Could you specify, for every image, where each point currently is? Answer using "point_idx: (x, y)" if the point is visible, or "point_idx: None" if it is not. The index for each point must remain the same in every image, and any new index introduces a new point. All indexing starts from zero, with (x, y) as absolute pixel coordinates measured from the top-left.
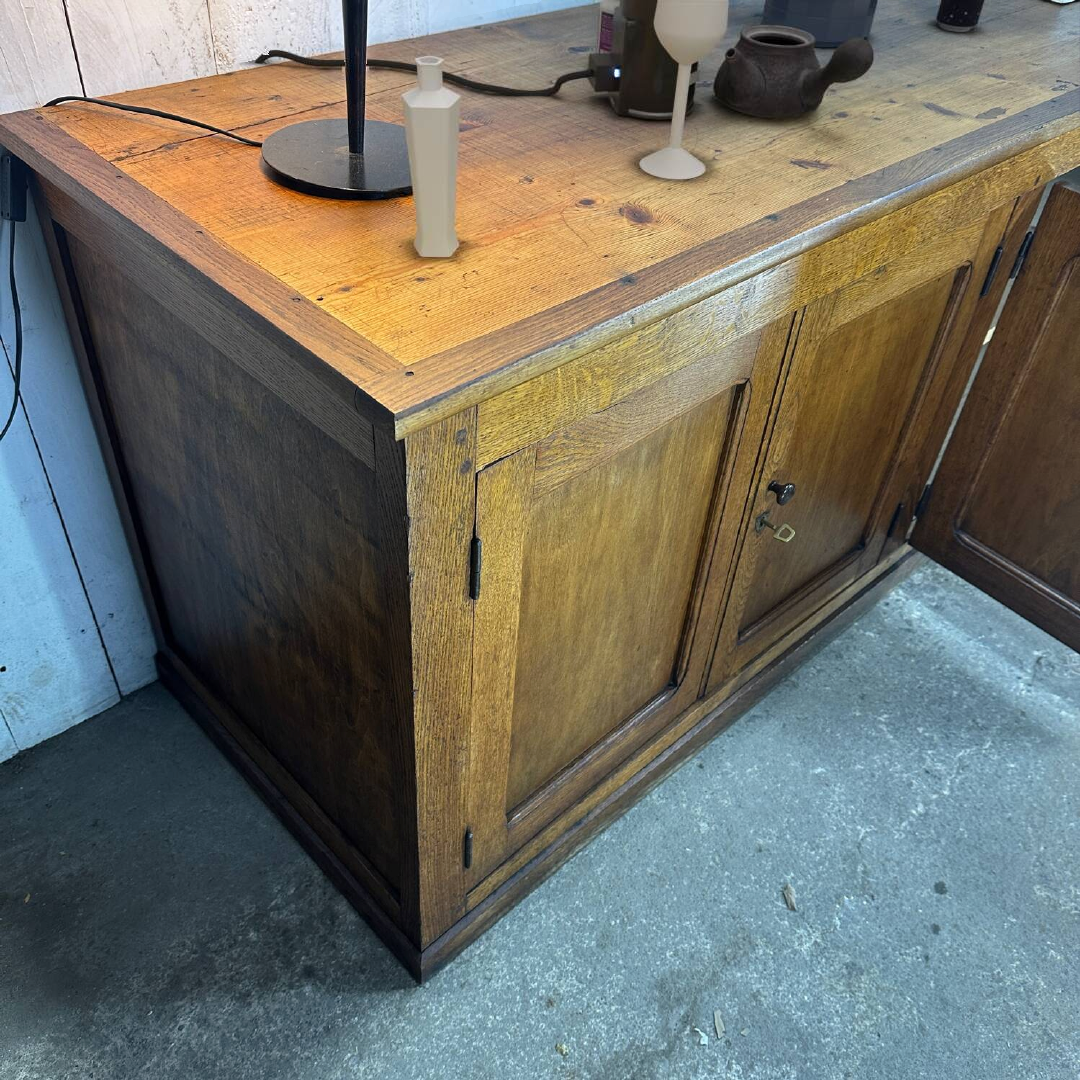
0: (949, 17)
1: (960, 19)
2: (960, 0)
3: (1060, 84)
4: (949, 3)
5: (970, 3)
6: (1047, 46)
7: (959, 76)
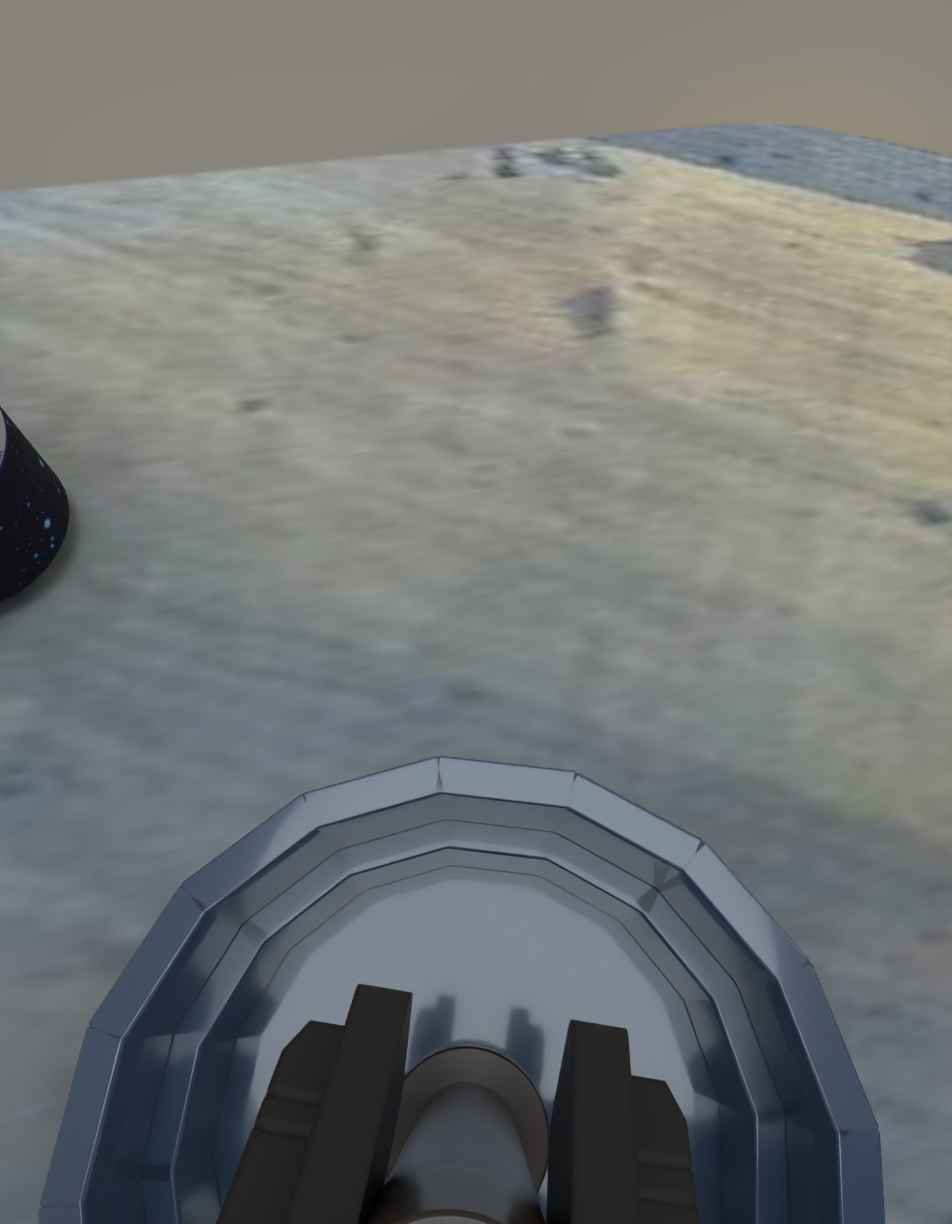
0: (47, 534)
1: (57, 490)
2: (19, 467)
3: (534, 164)
4: (9, 522)
5: (18, 432)
6: (96, 241)
7: (678, 403)
